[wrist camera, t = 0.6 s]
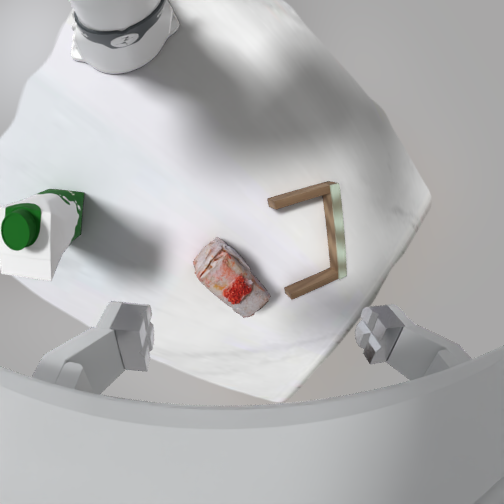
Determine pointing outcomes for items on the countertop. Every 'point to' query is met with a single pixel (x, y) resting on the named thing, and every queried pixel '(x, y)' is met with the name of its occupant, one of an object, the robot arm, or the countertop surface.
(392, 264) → the countertop surface
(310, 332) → the countertop surface
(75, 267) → the countertop surface
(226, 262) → the food item
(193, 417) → the robot arm
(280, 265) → the countertop surface
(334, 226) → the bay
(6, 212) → the milk carton
